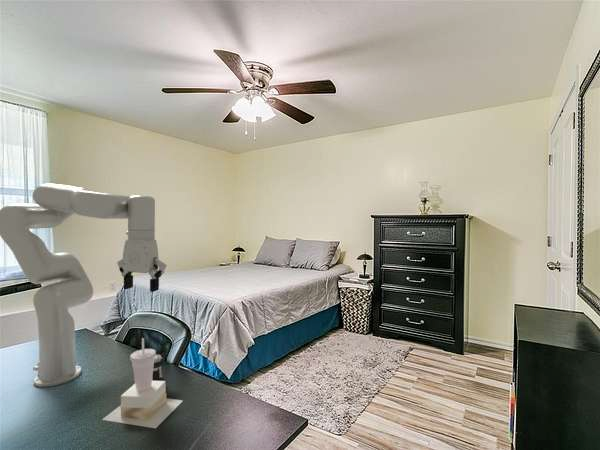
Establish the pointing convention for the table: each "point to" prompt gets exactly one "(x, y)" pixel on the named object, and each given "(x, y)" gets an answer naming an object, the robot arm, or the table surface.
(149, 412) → the bottom slab
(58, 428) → the table surface
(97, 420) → the table surface
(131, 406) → the top slab
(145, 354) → the smoothie
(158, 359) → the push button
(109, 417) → the felt mat
